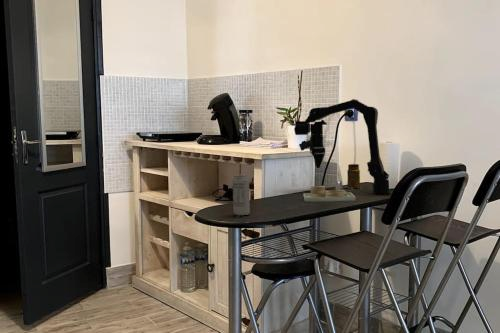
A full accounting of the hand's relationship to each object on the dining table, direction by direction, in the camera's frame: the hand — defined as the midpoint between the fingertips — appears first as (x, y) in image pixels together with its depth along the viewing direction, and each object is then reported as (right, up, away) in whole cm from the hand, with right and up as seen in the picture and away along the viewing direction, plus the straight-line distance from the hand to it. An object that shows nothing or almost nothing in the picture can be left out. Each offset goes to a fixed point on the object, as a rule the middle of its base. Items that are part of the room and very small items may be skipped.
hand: (317, 167), depth 239 cm
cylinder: (+9, -12, -8) cm, 17 cm away
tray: (+2, -14, -21) cm, 25 cm away
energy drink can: (-35, -18, -53) cm, 66 cm away
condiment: (+19, -11, +12) cm, 25 cm away
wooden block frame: (+2, -13, -21) cm, 25 cm away
